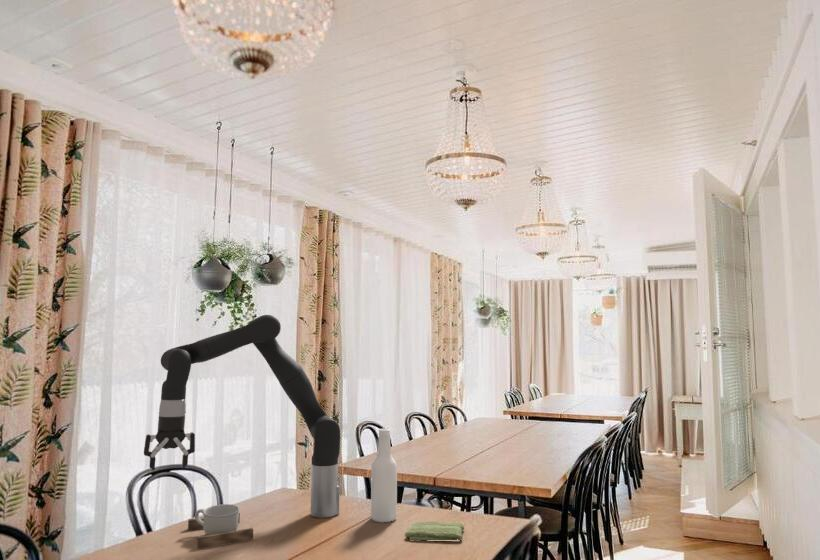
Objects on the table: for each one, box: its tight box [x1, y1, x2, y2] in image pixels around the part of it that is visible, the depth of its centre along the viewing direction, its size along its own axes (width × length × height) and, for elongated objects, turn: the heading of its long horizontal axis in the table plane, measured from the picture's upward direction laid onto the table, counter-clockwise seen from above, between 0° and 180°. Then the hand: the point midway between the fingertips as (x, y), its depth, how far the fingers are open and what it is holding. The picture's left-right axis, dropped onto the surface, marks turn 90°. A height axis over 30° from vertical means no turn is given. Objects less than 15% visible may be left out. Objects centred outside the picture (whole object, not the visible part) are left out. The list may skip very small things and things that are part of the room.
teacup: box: [194, 503, 240, 535], centre depth 179 cm, size 14×11×8 cm
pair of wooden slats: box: [187, 512, 254, 549], centre depth 180 cm, size 16×20×3 cm
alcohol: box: [370, 427, 398, 524], centre depth 196 cm, size 9×9×30 cm
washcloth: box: [404, 521, 465, 541], centre depth 179 cm, size 13×18×3 cm
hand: (168, 468), depth 174 cm, fingers open, 8 cm apart
